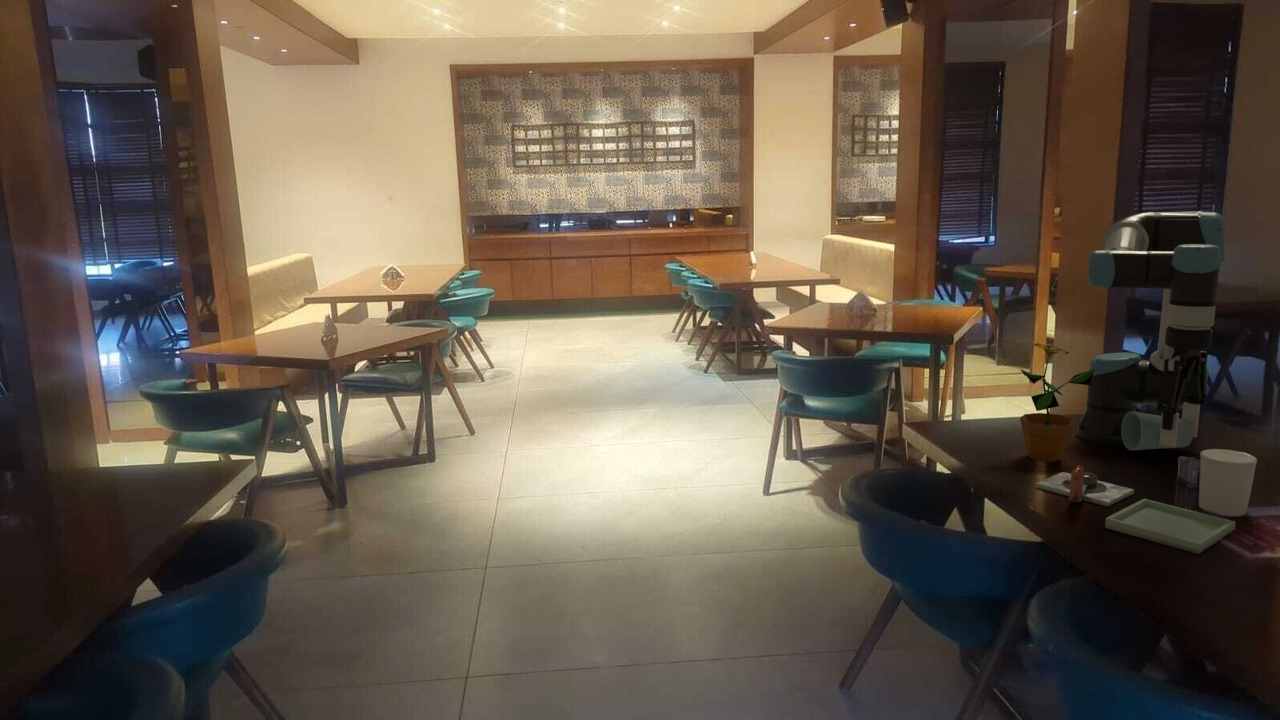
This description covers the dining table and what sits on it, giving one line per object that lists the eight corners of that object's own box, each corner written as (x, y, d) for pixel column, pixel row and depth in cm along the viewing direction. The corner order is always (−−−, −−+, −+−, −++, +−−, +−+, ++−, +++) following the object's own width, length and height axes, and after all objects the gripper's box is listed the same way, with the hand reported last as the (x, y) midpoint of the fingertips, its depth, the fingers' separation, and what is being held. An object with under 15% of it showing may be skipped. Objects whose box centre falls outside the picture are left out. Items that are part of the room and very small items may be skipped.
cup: (1198, 450, 164) (1142, 448, 165) (1175, 454, 172) (1122, 452, 172) (1195, 411, 166) (1140, 408, 166) (1172, 417, 173) (1119, 414, 174)
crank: (1074, 480, 197) (1076, 450, 195) (1098, 484, 194) (1101, 453, 193) (1060, 502, 184) (1062, 470, 182) (1085, 506, 181) (1088, 474, 179)
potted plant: (1068, 474, 205) (1077, 351, 199) (992, 457, 219) (999, 341, 213) (1098, 457, 217) (1108, 340, 211) (1025, 442, 230) (1032, 332, 225)
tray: (1143, 508, 183) (1144, 498, 182) (1234, 532, 170) (1235, 521, 169) (1104, 528, 173) (1105, 518, 172) (1198, 555, 160) (1199, 544, 159)
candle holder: (1252, 522, 174) (1258, 465, 172) (1194, 513, 179) (1200, 459, 177) (1249, 506, 182) (1255, 452, 180) (1194, 499, 187) (1199, 446, 185)
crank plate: (1062, 476, 204) (1062, 471, 203) (1133, 494, 191) (1134, 488, 191) (1035, 488, 196) (1036, 482, 196) (1107, 507, 184) (1108, 501, 184)
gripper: (1191, 318, 172) (1180, 426, 177) (1142, 331, 160) (1132, 447, 164) (1234, 322, 166) (1222, 433, 171) (1187, 335, 154) (1175, 456, 158)
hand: (1178, 440), depth 168 cm, fingers closed on cup, 9 cm apart
